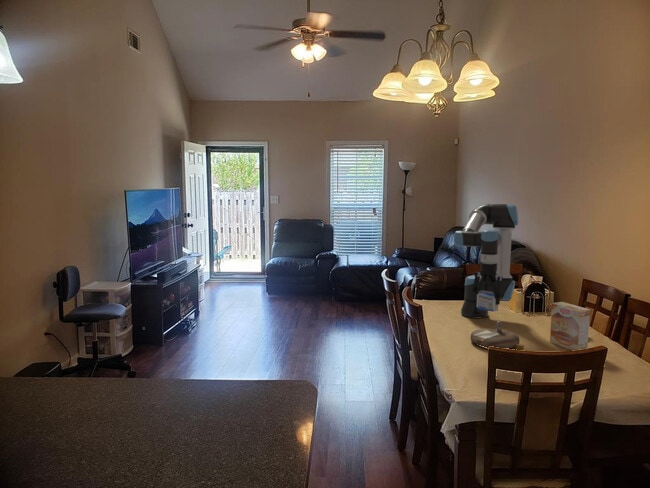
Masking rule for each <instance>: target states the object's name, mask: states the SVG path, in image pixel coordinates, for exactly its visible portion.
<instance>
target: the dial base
mask: <svg viewBox="0 0 650 488" xmlns="http://www.w3.org/2000/svg"><path fill="white" fill-rule="evenodd" d="M487 348H488V347H487ZM524 348H525V346H524V345H523V344H520V343H519V344H516V347H514V348H509V349H511V350H513V349H515V350H516V349H517V350H524V351H525V349H524Z"/></svg>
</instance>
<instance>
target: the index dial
mask: <svg viewBox="0 0 650 488" xmlns="http://www.w3.org/2000/svg"><path fill="white" fill-rule="evenodd" d="M470 340H471V342H472V343H474V344H475V343H476V344H478V345H481V346H484V347H489V346H494V347H499V348H514V347H515V348H516V344H520V341H521V340H520V337H519V335H517V334H514V333H513V332H510V331H506V330H504V329H503V321H502V320H497V321H496V328H483V329H482V328H481V329H476V330H473V331H471V333H470ZM476 344H475V345H476ZM515 348H514V349H515Z"/></svg>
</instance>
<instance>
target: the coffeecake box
mask: <svg viewBox="0 0 650 488" xmlns="http://www.w3.org/2000/svg"><path fill="white" fill-rule="evenodd" d="M550 314H551V316H550V332H549V333H550V335H549V343H551V344H553V345H557V346H559V347H562V348H565V349H567V350H570V351H572V350H579V349H586V348H589V347H588V345H589V335H590V333H589V331H590V320H591V319H590V318H591V309H589V308H586V307H582V306H579V305H575V304H571V303H569V302H565V301H557V302H552V303H551V313H550Z"/></svg>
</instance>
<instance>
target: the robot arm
mask: <svg viewBox="0 0 650 488" xmlns="http://www.w3.org/2000/svg"><path fill="white" fill-rule="evenodd" d="M484 225H492V229H483V230H481V231H480V229H481V228H482V226H484ZM518 225H519V213H518V208H517V206H516V204H512V203H511V204H509V203H485V204H482V205H480V206H478V207H476V208H474V209H473V210H472V211H471V212H470V213H469V215H468V220H467V222H466V223H465V226H463V228H462V230H456V231H455V232H454V235H453V243H454V245H455V246H459V247H477V248H480V263H479V265H480V266H479V267H480V268H479V270H480V271H476V272H474V274H472V275H469V276H466V277H465V279H464V281H465V282H464V300H463V305H462V307H461V310H460V315H461V314H462V315H461V316H463V315H465V316H468V317H467V318H469V317H485V318H488V317H489V311H487V310H481V309H478V292H479V291H481V290H483V291H490V292H494V295H495V298H494V302H493V311H494V312H495V313H496V312H498V311H499V305H500V302H501V301H511V300H512V298H513V295H514V292H515V285H516V281H515V280H513V276H512V275H511V273H510V272H511V270H510V269H511V254H512V253H511V252H512V251H511V250H512V236H513V233H512V232H514V230H515V229H516V226H518ZM465 316H464V317H465ZM487 316H488V317H487Z"/></svg>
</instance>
